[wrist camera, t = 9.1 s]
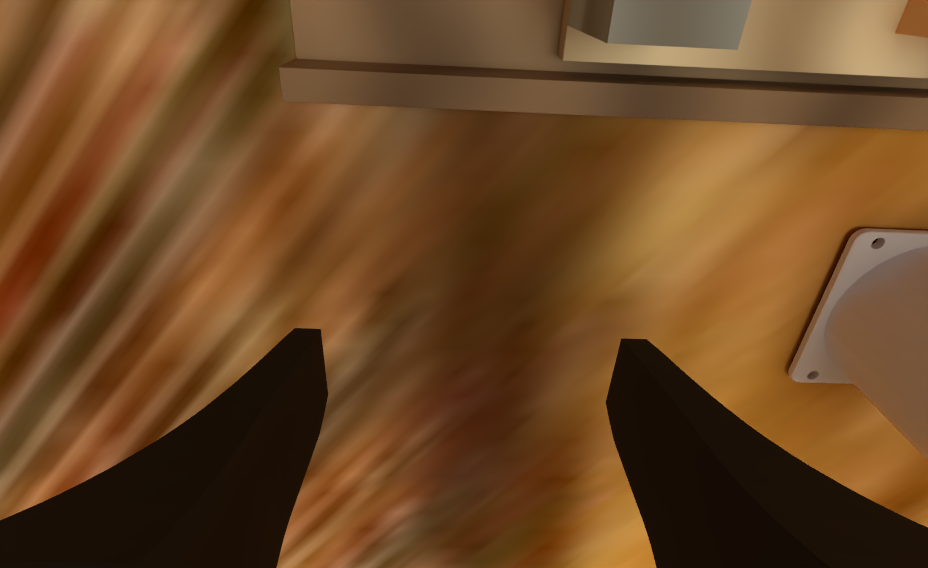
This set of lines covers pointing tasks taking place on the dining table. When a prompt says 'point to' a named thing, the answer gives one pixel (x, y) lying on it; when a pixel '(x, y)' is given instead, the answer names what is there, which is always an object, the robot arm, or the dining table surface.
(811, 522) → the robot arm
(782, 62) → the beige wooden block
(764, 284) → the dining table surface
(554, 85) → the lane board
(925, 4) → the orange cube
